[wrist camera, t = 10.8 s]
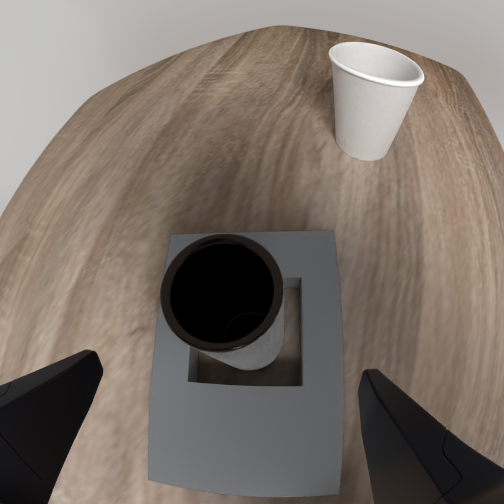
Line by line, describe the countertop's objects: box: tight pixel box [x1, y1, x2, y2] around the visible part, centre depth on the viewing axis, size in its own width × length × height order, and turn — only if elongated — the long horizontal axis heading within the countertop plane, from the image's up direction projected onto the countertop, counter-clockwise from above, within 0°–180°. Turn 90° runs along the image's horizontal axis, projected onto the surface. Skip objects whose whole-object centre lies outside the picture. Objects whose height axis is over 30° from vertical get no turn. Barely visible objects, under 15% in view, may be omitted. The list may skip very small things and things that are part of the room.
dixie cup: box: [329, 42, 424, 161], centre depth 22 cm, size 8×8×10 cm
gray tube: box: [160, 234, 284, 370], centre depth 15 cm, size 4×4×10 cm
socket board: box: [148, 231, 344, 497], centre depth 17 cm, size 18×12×2 cm, turn 178°
